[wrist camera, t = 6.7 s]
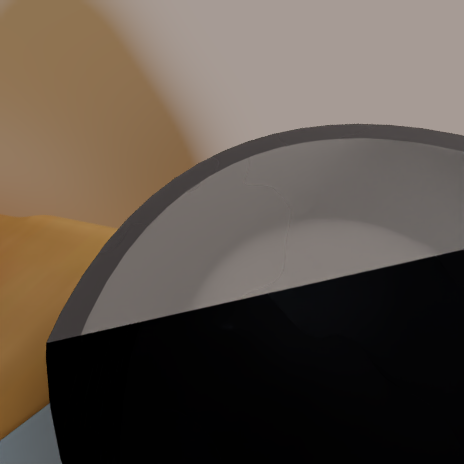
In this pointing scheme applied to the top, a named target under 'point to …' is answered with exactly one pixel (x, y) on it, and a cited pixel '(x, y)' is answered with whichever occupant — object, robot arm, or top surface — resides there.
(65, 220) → the top surface
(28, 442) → the stand
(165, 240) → the glass shaker
